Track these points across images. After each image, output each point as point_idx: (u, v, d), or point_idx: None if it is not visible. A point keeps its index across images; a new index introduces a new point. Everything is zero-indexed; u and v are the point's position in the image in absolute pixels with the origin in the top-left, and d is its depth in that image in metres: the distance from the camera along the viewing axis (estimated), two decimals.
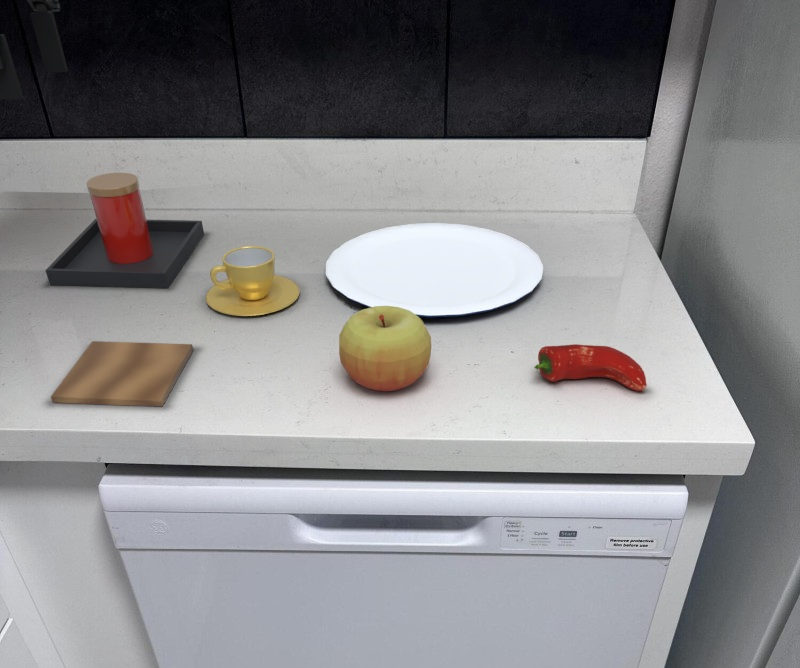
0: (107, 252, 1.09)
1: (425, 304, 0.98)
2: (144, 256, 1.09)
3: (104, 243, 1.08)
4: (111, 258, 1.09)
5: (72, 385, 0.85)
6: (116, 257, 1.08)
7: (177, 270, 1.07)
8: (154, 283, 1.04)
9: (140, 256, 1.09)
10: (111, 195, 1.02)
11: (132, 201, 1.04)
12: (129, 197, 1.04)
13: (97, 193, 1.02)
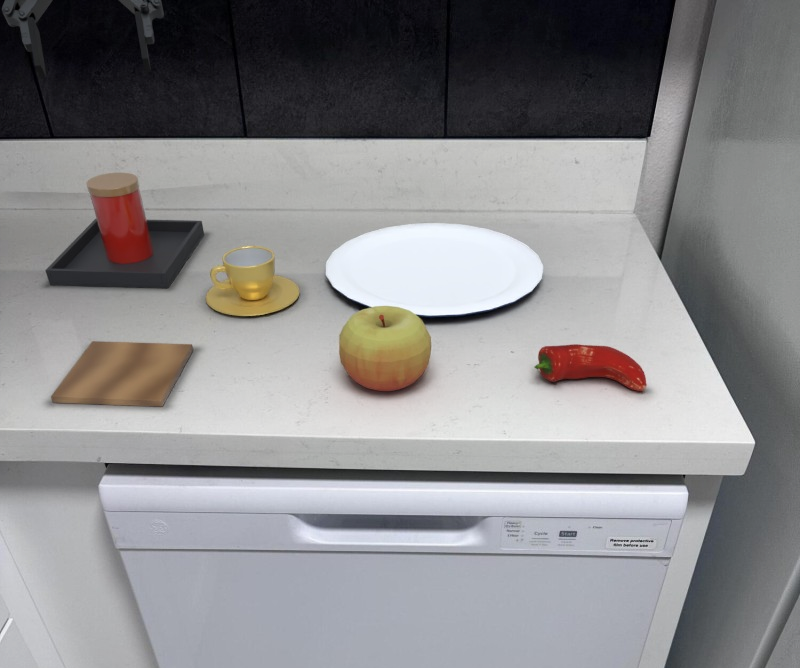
0: (107, 252, 1.09)
1: (425, 304, 0.98)
2: (144, 256, 1.09)
3: (104, 243, 1.08)
4: (111, 258, 1.09)
5: (72, 385, 0.85)
6: (116, 257, 1.08)
7: (177, 270, 1.07)
8: (154, 283, 1.04)
9: (140, 256, 1.09)
10: (111, 195, 1.02)
11: (132, 201, 1.04)
12: (129, 197, 1.04)
13: (97, 193, 1.02)
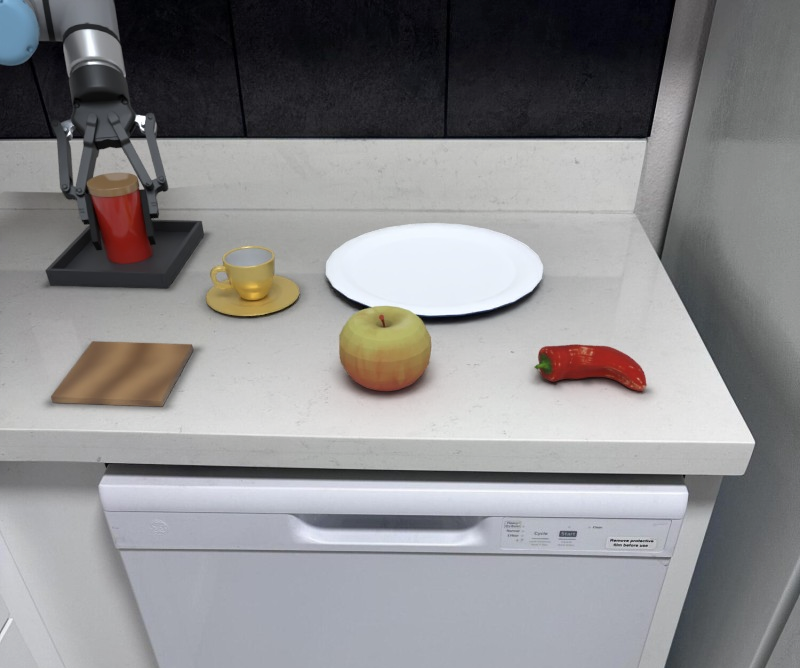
0: (107, 252, 1.09)
1: (425, 304, 0.98)
2: (144, 256, 1.09)
3: (104, 243, 1.08)
4: (111, 258, 1.09)
5: (72, 385, 0.85)
6: (116, 257, 1.08)
7: (177, 270, 1.07)
8: (154, 283, 1.04)
9: (140, 256, 1.09)
10: (111, 195, 1.02)
11: (132, 201, 1.04)
12: (129, 197, 1.04)
13: (97, 193, 1.02)
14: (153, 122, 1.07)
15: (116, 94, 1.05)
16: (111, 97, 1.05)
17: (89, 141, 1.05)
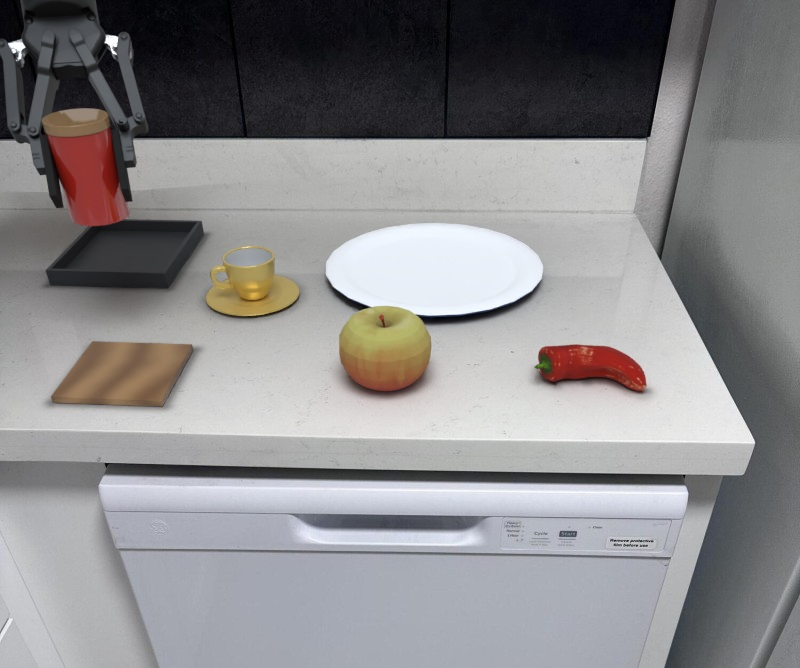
0: (70, 212, 0.85)
1: (425, 304, 0.98)
2: (118, 217, 0.86)
3: (66, 200, 0.84)
4: (76, 219, 0.85)
5: (72, 385, 0.85)
6: (82, 218, 0.85)
7: (177, 270, 1.07)
8: (154, 283, 1.04)
9: (113, 217, 0.85)
10: (73, 134, 0.79)
11: (101, 143, 0.81)
12: (97, 137, 0.80)
13: (55, 132, 0.79)
14: (128, 44, 0.83)
15: (80, 6, 0.82)
16: (73, 10, 0.82)
17: (45, 66, 0.81)
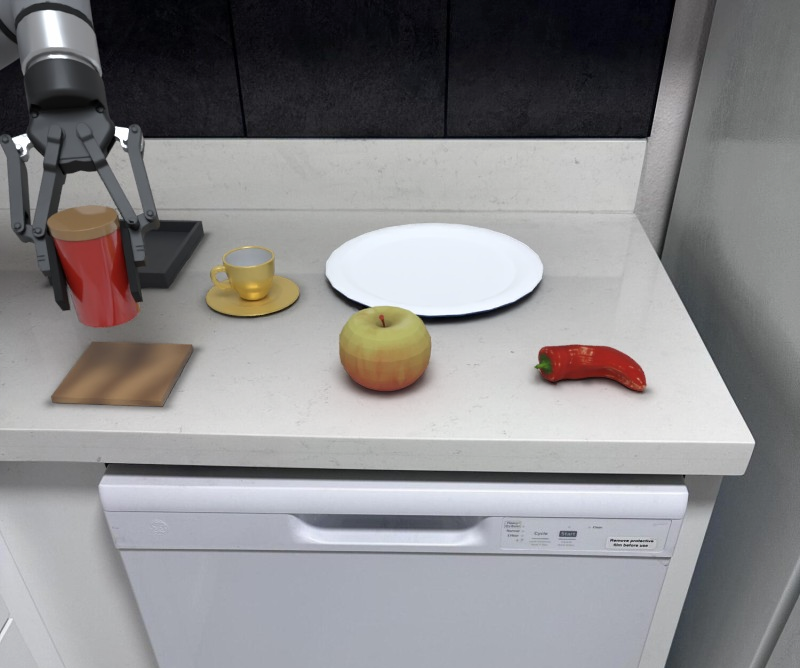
0: (78, 312, 0.80)
1: (425, 304, 0.98)
2: (127, 317, 0.81)
3: (73, 300, 0.80)
4: (83, 320, 0.81)
5: (72, 385, 0.85)
6: (90, 319, 0.80)
7: (177, 270, 1.07)
8: (154, 283, 1.04)
9: (122, 318, 0.81)
10: (80, 238, 0.74)
11: (110, 245, 0.76)
12: (105, 240, 0.76)
13: (61, 236, 0.74)
14: (139, 137, 0.79)
15: (88, 99, 0.77)
16: (81, 103, 0.77)
17: (51, 163, 0.77)
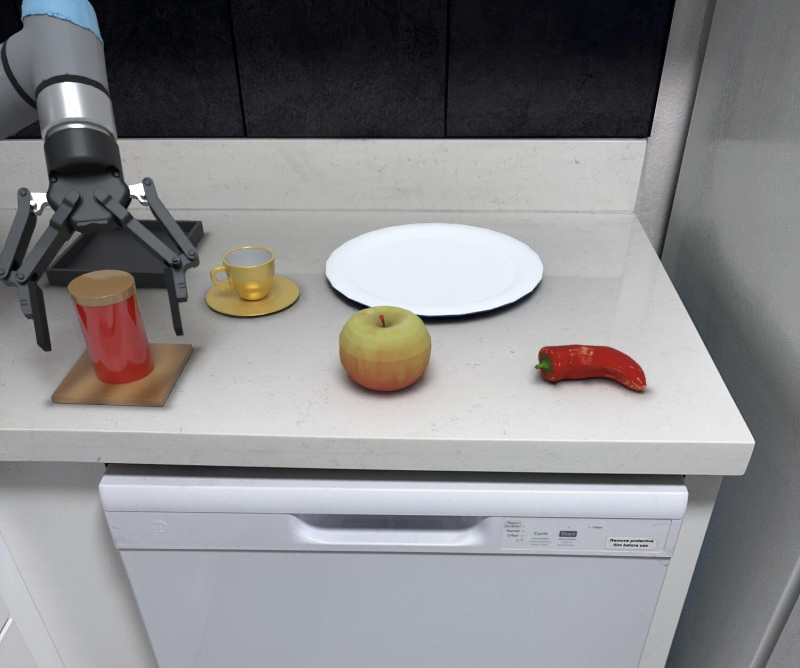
0: (95, 370, 0.85)
1: (425, 304, 0.98)
2: (142, 373, 0.86)
3: (91, 359, 0.84)
4: (100, 377, 0.85)
5: (72, 385, 0.85)
6: (107, 377, 0.85)
7: None
8: (154, 283, 1.04)
9: (137, 374, 0.85)
10: (99, 304, 0.79)
11: (127, 309, 0.81)
12: (123, 305, 0.80)
13: (81, 302, 0.79)
14: (154, 187, 0.83)
15: (105, 165, 0.81)
16: (98, 168, 0.81)
17: (57, 222, 0.81)
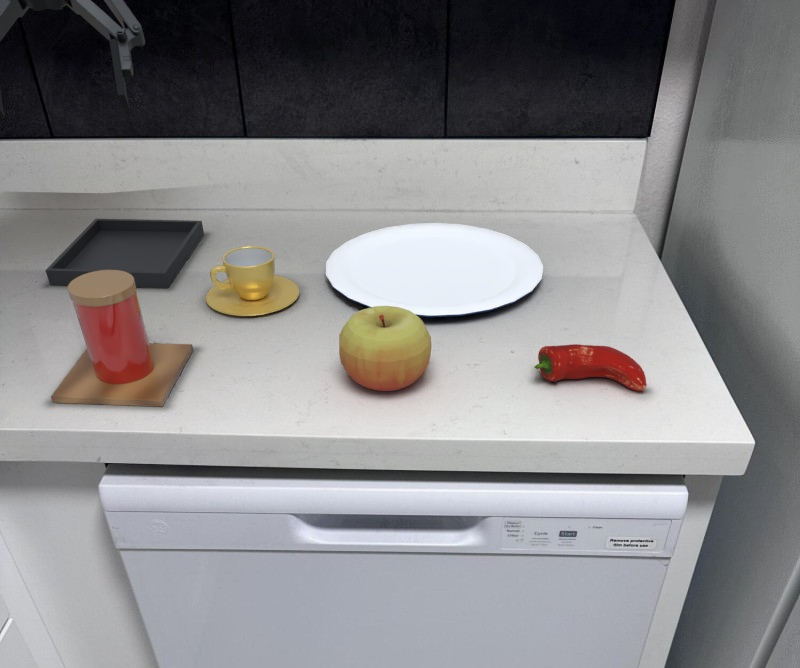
0: (95, 370, 0.85)
1: (425, 304, 0.98)
2: (142, 373, 0.86)
3: (91, 359, 0.84)
4: (100, 377, 0.85)
5: (72, 385, 0.85)
6: (107, 377, 0.85)
7: (177, 270, 1.07)
8: (154, 283, 1.04)
9: (137, 374, 0.85)
10: (99, 304, 0.79)
11: (127, 309, 0.81)
12: (123, 305, 0.80)
13: (81, 302, 0.79)
14: None
15: None
16: None
17: None
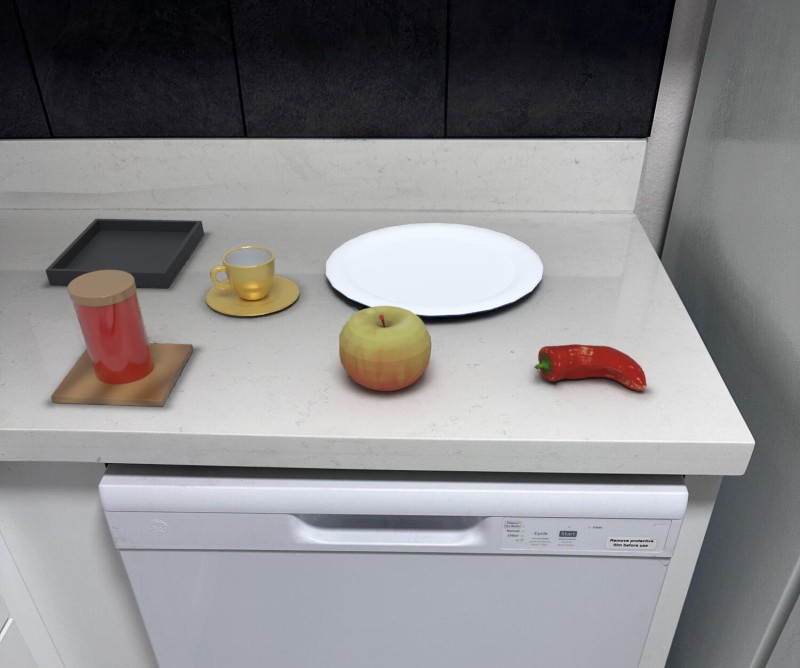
0: (95, 370, 0.85)
1: (425, 304, 0.98)
2: (142, 373, 0.86)
3: (91, 359, 0.84)
4: (100, 377, 0.85)
5: (72, 385, 0.85)
6: (107, 377, 0.85)
7: (177, 270, 1.07)
8: (154, 283, 1.04)
9: (137, 374, 0.85)
10: (99, 304, 0.79)
11: (127, 309, 0.81)
12: (123, 305, 0.80)
13: (81, 302, 0.79)
14: None
15: None
16: None
17: None
